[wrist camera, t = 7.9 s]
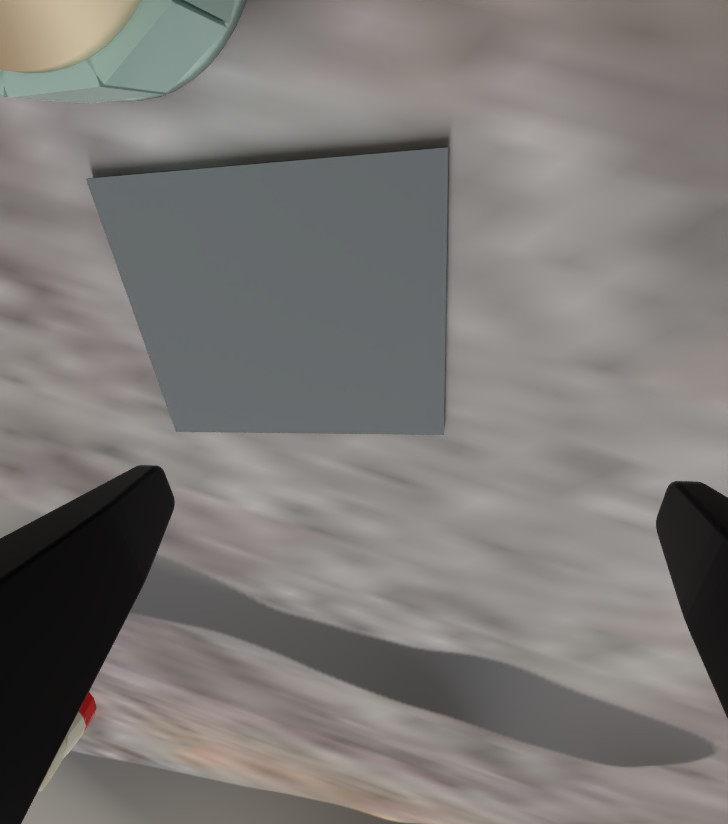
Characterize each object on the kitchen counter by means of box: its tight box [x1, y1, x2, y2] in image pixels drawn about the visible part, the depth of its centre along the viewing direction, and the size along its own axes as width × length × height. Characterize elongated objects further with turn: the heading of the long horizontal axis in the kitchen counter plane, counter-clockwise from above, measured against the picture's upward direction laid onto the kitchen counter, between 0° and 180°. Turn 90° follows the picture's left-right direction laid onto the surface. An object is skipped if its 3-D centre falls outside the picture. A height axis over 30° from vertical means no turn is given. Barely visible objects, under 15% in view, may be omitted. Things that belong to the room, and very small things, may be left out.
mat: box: [86, 147, 448, 435], centre depth 20 cm, size 14×12×1 cm
